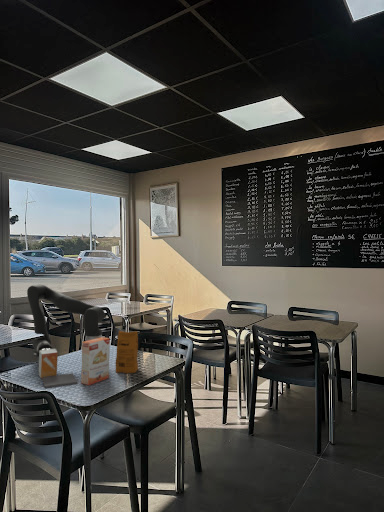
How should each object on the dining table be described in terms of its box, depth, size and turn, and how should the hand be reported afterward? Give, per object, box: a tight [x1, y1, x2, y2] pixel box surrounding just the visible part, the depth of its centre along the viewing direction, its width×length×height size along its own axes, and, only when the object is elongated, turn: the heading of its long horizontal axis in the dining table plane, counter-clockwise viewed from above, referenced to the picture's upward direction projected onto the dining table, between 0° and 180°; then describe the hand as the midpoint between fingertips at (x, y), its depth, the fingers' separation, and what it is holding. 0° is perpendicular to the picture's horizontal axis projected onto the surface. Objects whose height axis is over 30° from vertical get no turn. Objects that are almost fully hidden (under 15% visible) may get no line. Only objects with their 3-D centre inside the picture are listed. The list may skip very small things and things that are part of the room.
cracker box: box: [80, 336, 111, 386], centre depth 185 cm, size 14×6×21 cm, turn 148°
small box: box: [38, 348, 59, 379], centre depth 192 cm, size 8×6×13 cm
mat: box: [41, 372, 78, 389], centre depth 184 cm, size 15×14×1 cm
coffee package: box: [115, 330, 139, 374], centre depth 201 cm, size 10×12×22 cm
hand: (47, 356), depth 194 cm, fingers closed
